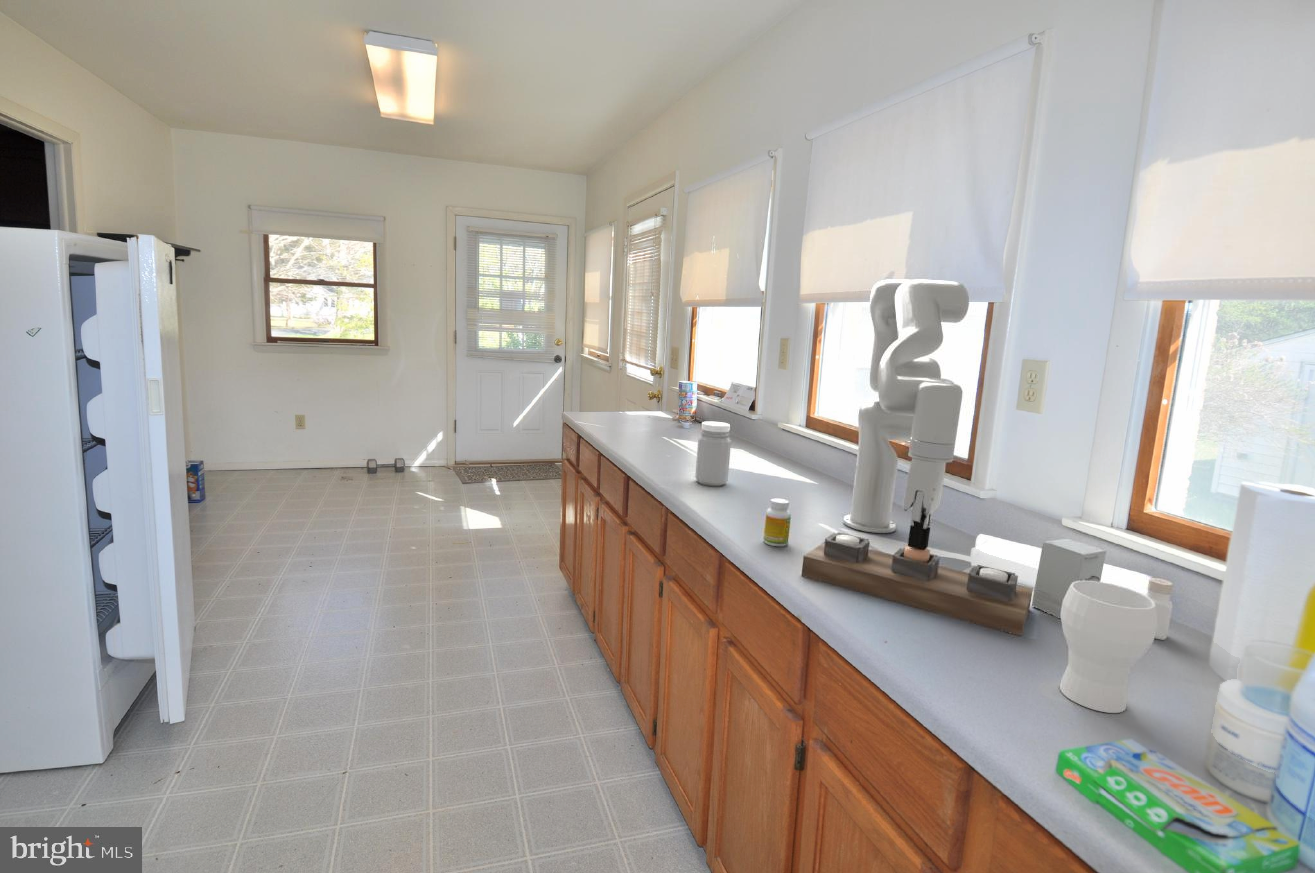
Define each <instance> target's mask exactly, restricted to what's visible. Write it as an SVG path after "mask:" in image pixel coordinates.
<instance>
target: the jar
mask: <svg viewBox="0 0 1315 873" xmlns="http://www.w3.org/2000/svg"><path fill="white" fill-rule="evenodd" d="M730 430H731V425H730V423H727V422H721V421H713V420H712V421H702V422H701V432H700V433H701V434H700V435H699V436H698V440H697V449H696V450H697V451H696V463H695V464H696V465H695V475H694V478H695V479H696V481H697V482H698V483H699V484H700V485H705V486H710V487H721V486H724V485H725V484H726V483H727V482H728V481H729V480H728V478H729V470H730V469H729V468H730V459H731V458H730V457H731V448H732V447H731V446H732V440H731V439H730V437H729V436H730V433H729V432H730Z"/></svg>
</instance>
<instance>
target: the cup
mask: <svg viewBox="0 0 1315 873" xmlns="http://www.w3.org/2000/svg"><path fill="white" fill-rule="evenodd" d="M1145 595H1146V594H1143V593H1141V592H1138V591H1136V590H1133V589H1130V588H1129V587H1124V586H1122V585H1117V584H1113V583H1108V582H1104V581H1100V582H1097V581H1076V582H1073V583H1072V584H1071V585H1070V587H1069V589H1068V591H1067V593H1066V595H1065V597H1064V599H1063V602H1062V608H1061V614H1060V615H1061V619H1060V620H1061V627H1062V628H1061V629H1062V633H1063V636H1064V638H1065V641H1066V644H1067V646H1068V654H1067V655H1068V656H1067V658H1068V659H1067V660H1068V661H1067V664H1068V665H1067V666H1066V668H1065V670H1064V673H1063V675H1062V677H1061V681H1060V684H1059V690H1060V692H1061V693H1062V695H1064V696H1065V697H1066V698H1068V699H1069V700H1070V701H1072V702H1074V703H1076V704H1078V705H1080V706H1082V707H1085V708H1088V709H1090V710H1094V711H1096V712H1097V711H1098V712H1102V713H1103V712H1104V713H1107V714H1109V713H1110V714H1118V713H1119V714H1120V713H1123V712H1124V711H1126V708H1127V703H1128V702H1127V700H1128V699H1127V698H1128V697H1127V696H1128V695H1127V694H1128V693H1127V690H1128V689H1127V687H1128V686H1127V683H1128V682H1127V681H1128V678H1129V677H1130V673H1131V670H1132V668H1133V666H1135V665H1136V664H1137V663H1138V662H1139V661H1140V660H1141V659H1142V658H1143V657H1144V656H1145V655H1146V653H1147V652H1148V650H1149V648H1150V647H1151V645H1152V644H1153V643H1154V640H1155V638H1154V637H1155V633H1156V628H1157V614H1156V605H1155V603H1154V601H1153V600H1151V599H1150V598H1149V597H1147V596H1145Z"/></svg>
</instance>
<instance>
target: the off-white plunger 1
mask: <svg viewBox="0 0 1315 873" xmlns="http://www.w3.org/2000/svg"><path fill="white" fill-rule="evenodd" d="M850 535H851V534H848V535H837V536H836V541H837V542H841V543H845V544H849V545H854V546H858V545H859V539H858V538H856V537H857V536H856V537H854V536H855V535H852V536H850Z"/></svg>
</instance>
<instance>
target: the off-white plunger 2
mask: <svg viewBox="0 0 1315 873" xmlns="http://www.w3.org/2000/svg"><path fill="white" fill-rule="evenodd" d="M991 568H992V567H990V568H982V569H980V573H979V576H983V577H987V578H991V579H995V580H999V581H1003V582H1007V578H1008V575H1007V574H1006V573H1005V572H1003V571H1004V570H1003V571H1000V570H1001V569H998V570H996V569H997V568H994V569H991Z"/></svg>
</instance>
